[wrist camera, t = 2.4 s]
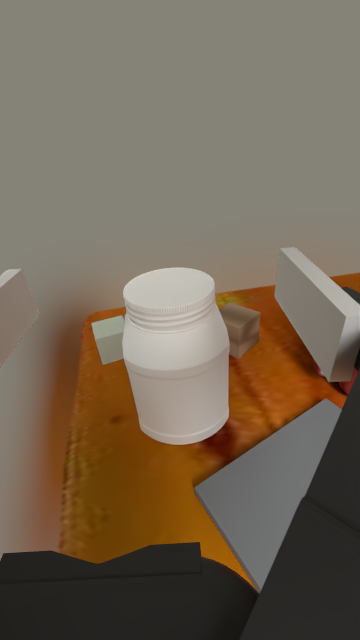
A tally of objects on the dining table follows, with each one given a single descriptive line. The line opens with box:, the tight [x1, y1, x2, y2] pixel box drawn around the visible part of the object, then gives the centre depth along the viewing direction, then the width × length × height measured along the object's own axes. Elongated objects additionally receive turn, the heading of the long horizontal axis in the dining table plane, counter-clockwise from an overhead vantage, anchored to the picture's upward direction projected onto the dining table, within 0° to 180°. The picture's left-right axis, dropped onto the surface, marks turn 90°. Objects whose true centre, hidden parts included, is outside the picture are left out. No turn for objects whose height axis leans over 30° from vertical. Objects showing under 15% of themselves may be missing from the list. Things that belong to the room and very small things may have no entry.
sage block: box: [91, 315, 125, 365], centre depth 42 cm, size 4×4×4 cm
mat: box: [194, 398, 342, 594], centre depth 23 cm, size 17×15×1 cm
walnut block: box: [219, 302, 260, 359], centre depth 41 cm, size 5×5×5 cm
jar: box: [122, 268, 230, 445], centre depth 30 cm, size 12×10×15 cm
